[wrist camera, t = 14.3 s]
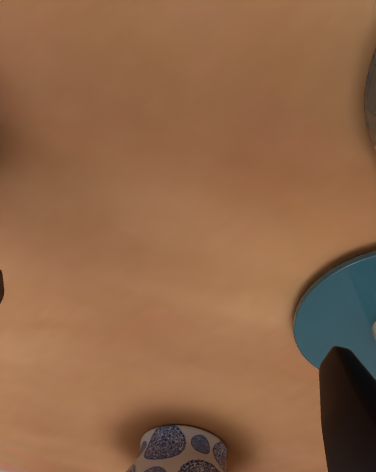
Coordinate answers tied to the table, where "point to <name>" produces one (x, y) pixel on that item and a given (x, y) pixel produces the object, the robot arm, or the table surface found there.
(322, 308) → the lid
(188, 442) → the lamp
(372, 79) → the dish
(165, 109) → the table surface
